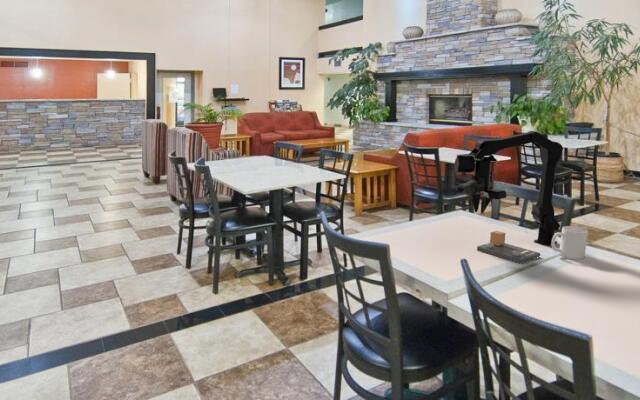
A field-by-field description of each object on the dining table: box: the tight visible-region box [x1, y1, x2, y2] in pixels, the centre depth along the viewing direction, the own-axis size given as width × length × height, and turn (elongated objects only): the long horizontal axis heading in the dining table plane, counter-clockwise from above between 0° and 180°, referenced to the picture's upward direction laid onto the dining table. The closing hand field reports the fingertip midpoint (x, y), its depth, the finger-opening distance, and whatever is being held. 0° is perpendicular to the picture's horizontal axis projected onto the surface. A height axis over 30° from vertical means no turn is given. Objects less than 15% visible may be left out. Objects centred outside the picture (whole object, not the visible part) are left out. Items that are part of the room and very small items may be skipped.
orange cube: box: [489, 230, 506, 246], centre depth 185 cm, size 4×4×4 cm
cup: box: [550, 225, 589, 261], centre depth 177 cm, size 8×12×10 cm
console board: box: [476, 242, 541, 264], centre depth 180 cm, size 12×18×3 cm, turn 37°
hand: (479, 212), depth 190 cm, fingers open, 2 cm apart
